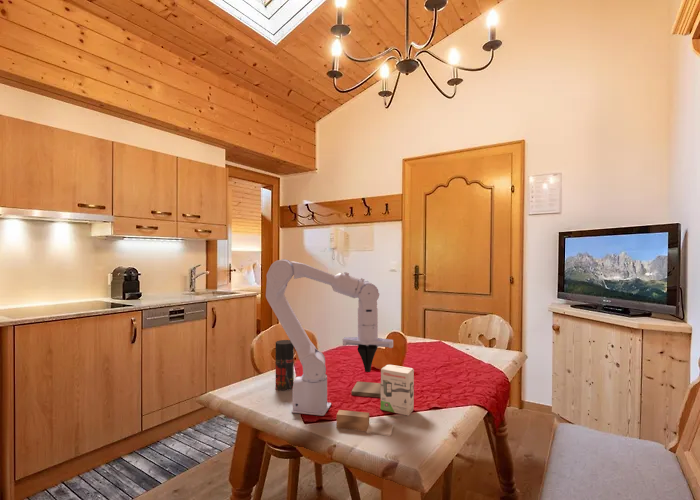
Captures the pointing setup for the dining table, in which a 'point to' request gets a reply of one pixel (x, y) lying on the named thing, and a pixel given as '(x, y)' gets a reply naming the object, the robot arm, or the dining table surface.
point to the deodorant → (284, 365)
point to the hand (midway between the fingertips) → (367, 371)
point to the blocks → (361, 423)
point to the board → (367, 389)
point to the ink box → (397, 389)
